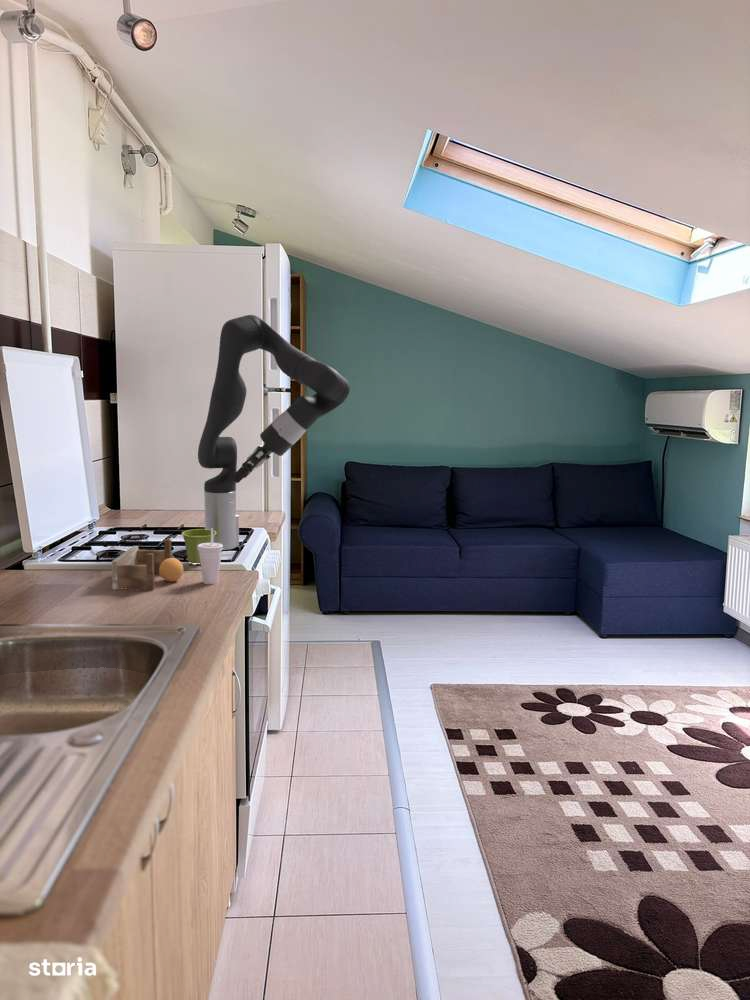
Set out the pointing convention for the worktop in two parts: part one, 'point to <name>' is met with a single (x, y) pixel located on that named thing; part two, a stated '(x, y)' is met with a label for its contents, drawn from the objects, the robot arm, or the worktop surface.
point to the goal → (138, 567)
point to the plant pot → (196, 542)
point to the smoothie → (210, 560)
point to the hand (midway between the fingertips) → (237, 478)
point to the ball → (171, 569)
